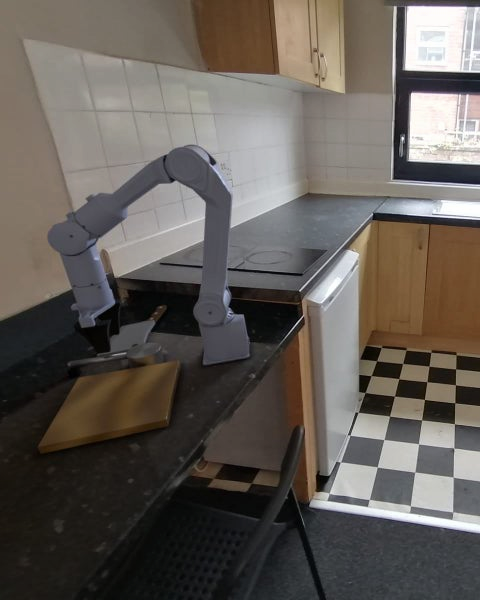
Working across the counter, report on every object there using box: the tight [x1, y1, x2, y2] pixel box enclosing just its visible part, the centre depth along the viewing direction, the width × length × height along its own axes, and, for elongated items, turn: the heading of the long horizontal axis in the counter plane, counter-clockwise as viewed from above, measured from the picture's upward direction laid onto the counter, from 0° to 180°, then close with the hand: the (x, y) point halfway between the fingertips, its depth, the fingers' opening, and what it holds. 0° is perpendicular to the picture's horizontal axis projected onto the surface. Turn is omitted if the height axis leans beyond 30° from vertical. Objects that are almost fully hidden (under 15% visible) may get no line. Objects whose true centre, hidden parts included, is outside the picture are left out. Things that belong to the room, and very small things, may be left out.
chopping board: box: [37, 359, 182, 455], centre depth 75 cm, size 18×20×2 cm
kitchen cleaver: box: [96, 304, 168, 357], centre depth 101 cm, size 24×1×10 cm
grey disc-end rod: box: [66, 342, 165, 378], centre depth 85 cm, size 17×6×3 cm, turn 111°
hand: (109, 343), depth 83 cm, fingers open, 7 cm apart
